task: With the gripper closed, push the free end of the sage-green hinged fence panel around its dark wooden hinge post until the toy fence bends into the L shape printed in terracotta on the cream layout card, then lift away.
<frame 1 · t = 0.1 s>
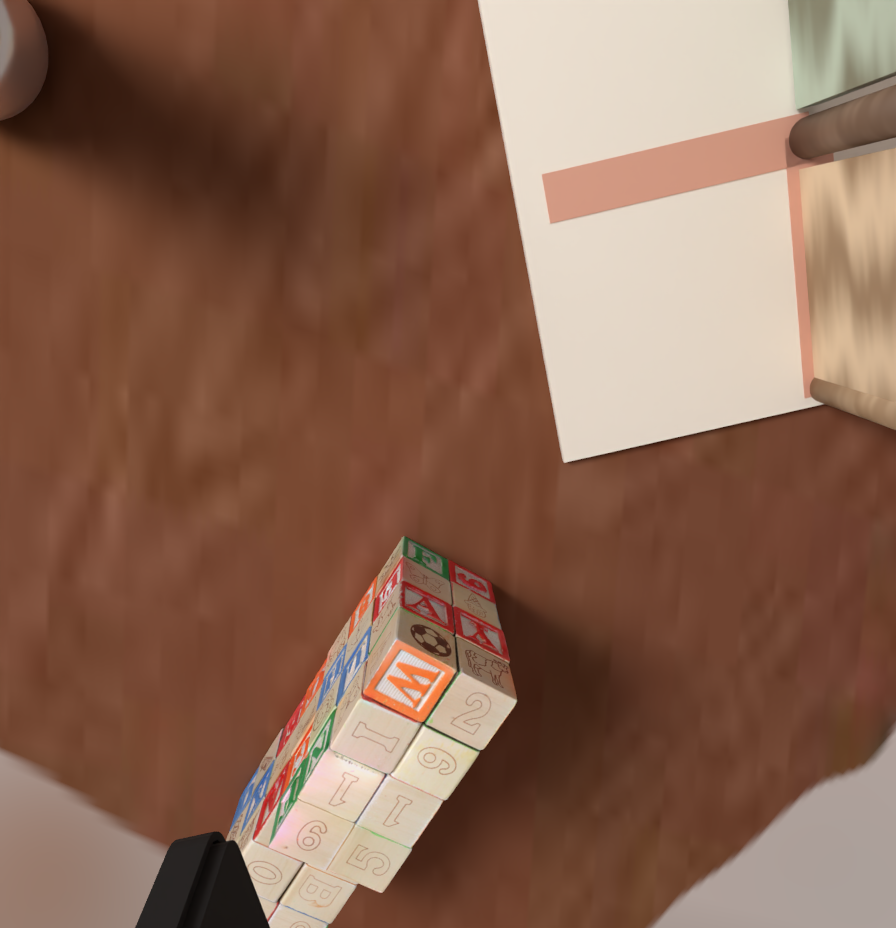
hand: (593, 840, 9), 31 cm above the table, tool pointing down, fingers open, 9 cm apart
layout card: (705, 151, 36), on the table
stack of blocks: (361, 689, 45), on the table
fixed fence: (802, 139, 36), resting on layout card
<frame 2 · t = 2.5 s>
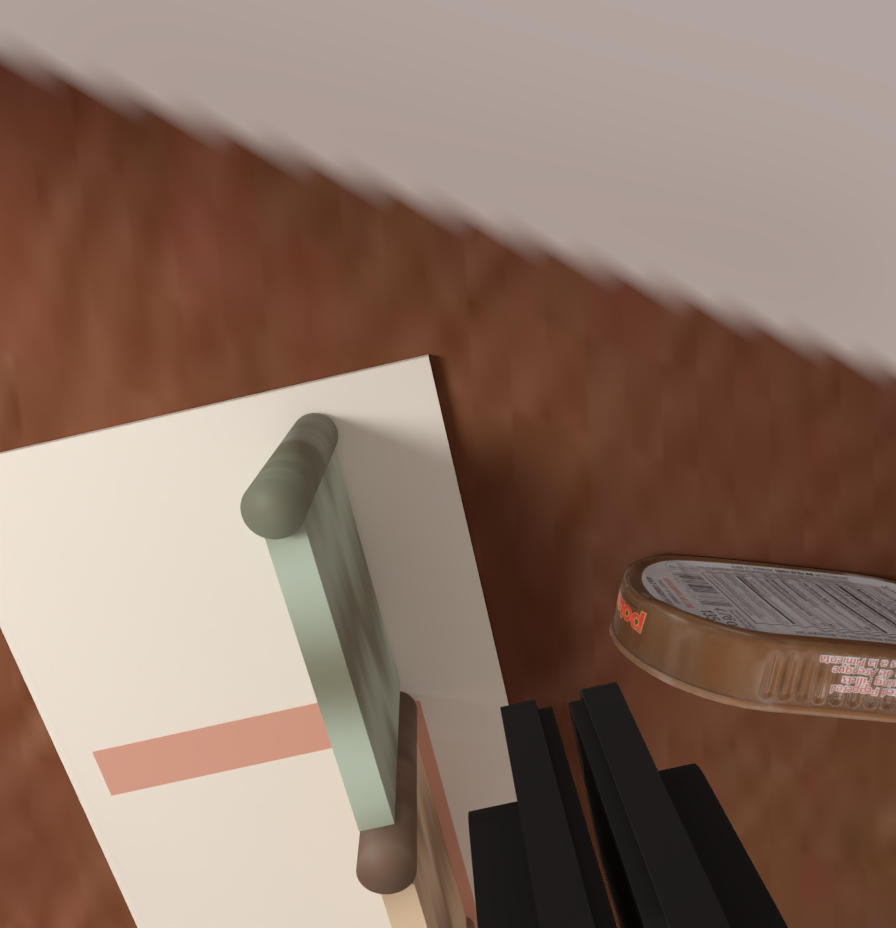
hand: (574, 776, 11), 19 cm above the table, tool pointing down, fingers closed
tin: (757, 580, 31), on the table
layout card: (284, 717, 32), on the table
fixed fence: (394, 703, 32), resting on layout card
swing panel: (339, 606, 25), point 5 cm above the table, hinge at 0.0°
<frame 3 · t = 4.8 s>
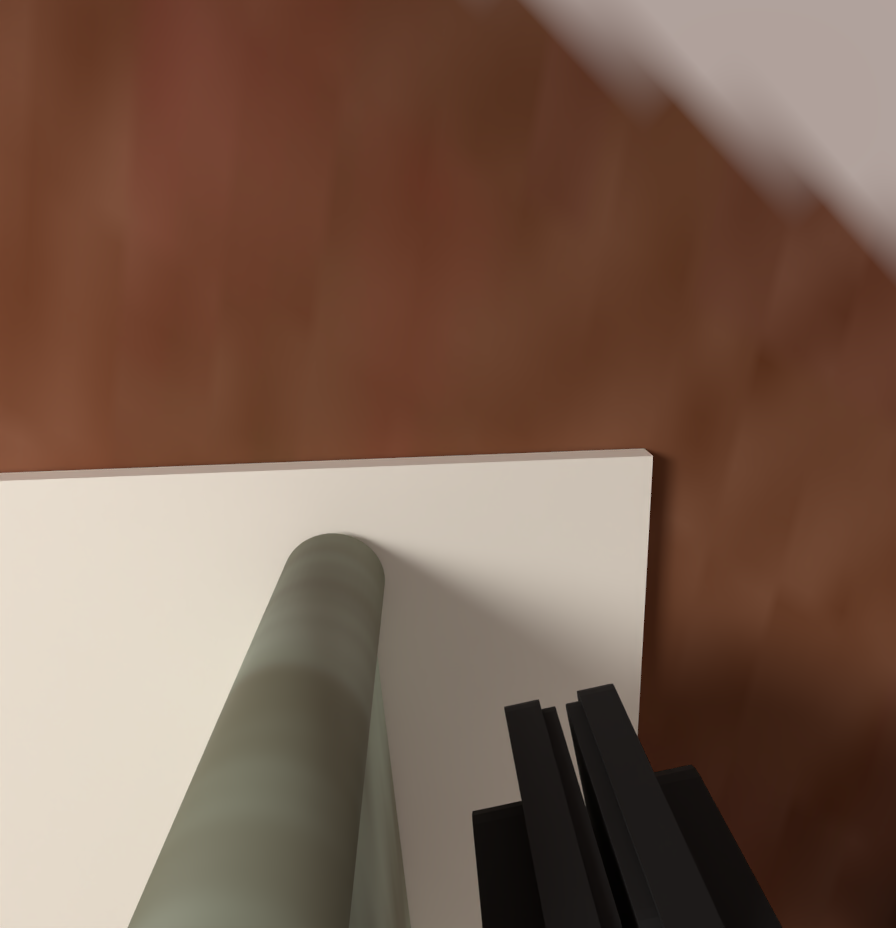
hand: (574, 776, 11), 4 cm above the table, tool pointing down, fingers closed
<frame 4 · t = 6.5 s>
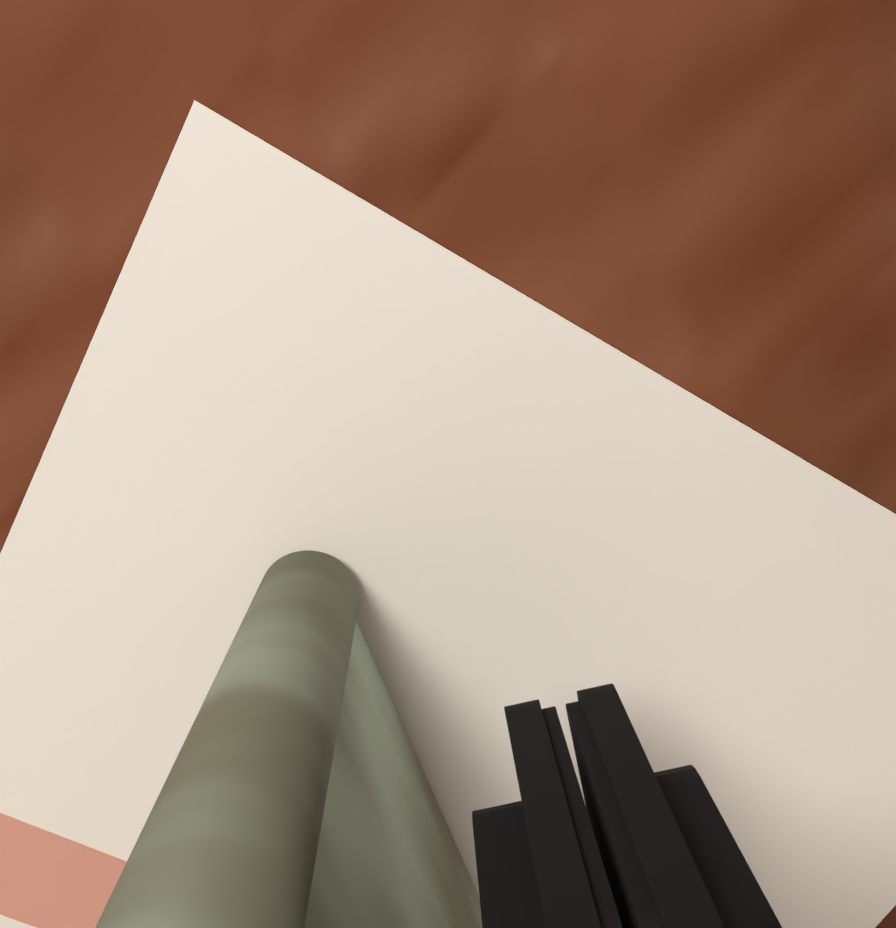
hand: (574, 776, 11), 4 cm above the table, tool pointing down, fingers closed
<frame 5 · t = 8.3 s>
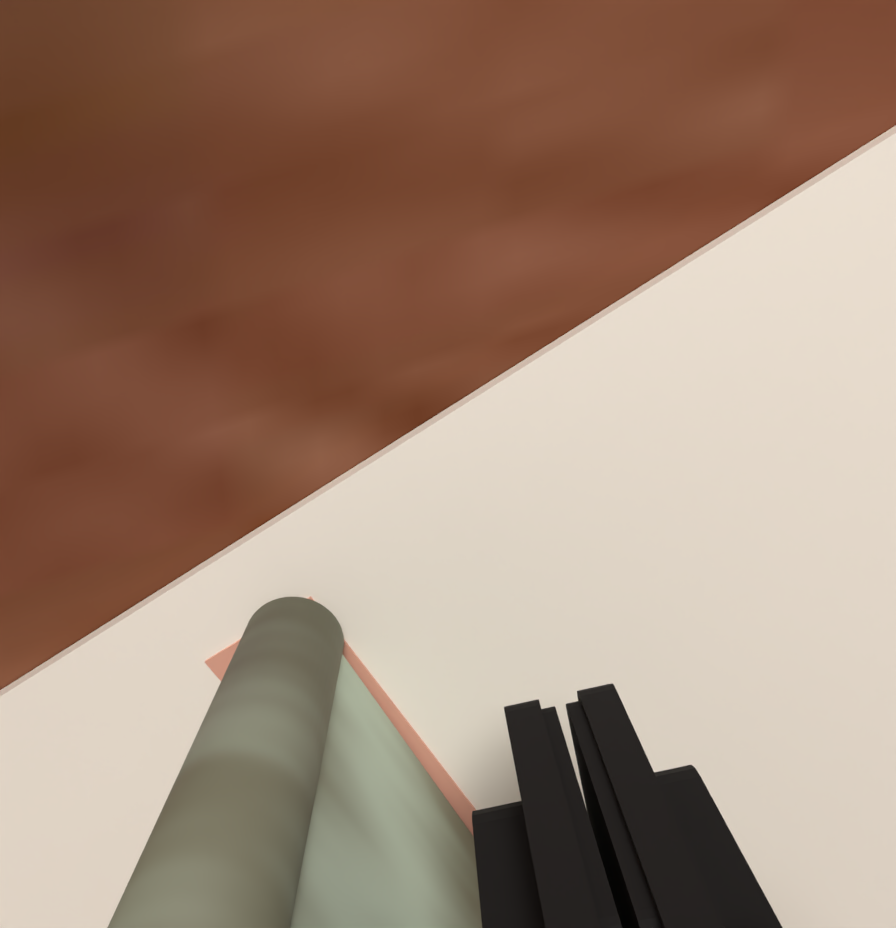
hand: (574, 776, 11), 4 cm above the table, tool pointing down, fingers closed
layout card: (512, 890, 16), on the table
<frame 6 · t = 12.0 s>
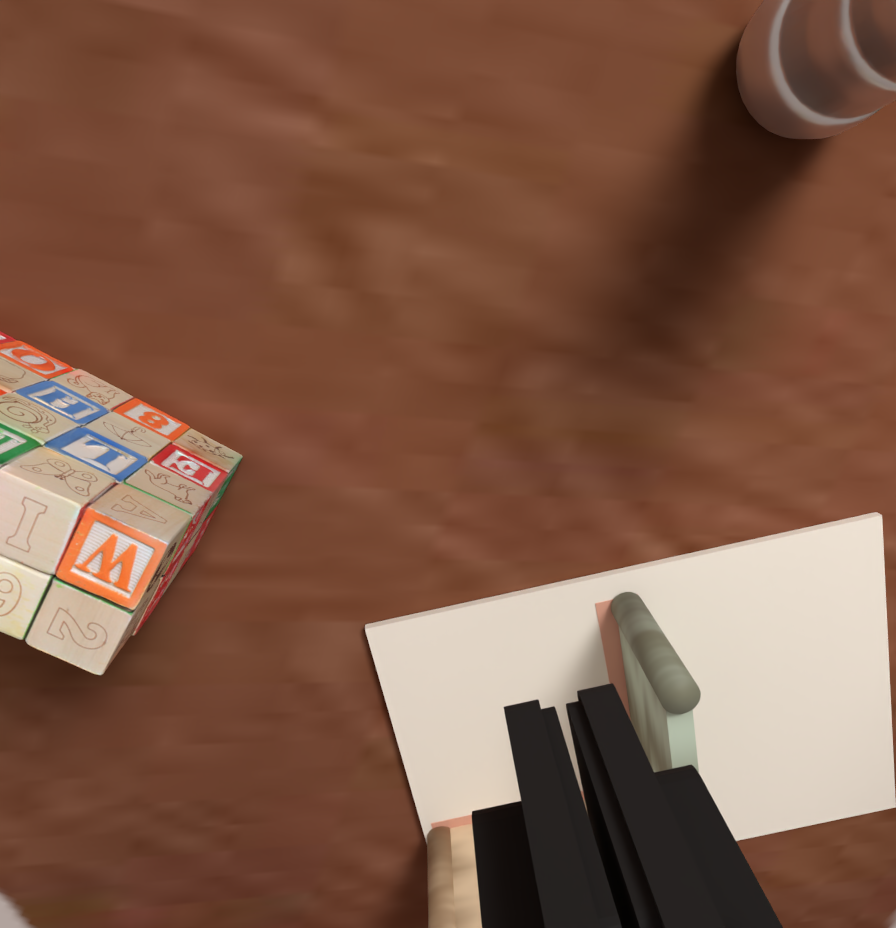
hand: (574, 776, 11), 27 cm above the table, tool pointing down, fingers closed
layout card: (643, 718, 42), on the table
stack of blocks: (29, 405, 36), on the table
fixed fence: (646, 787, 44), resting on layout card
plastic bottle: (787, 70, 33), on the table
swing panel: (660, 735, 37), point 5 cm above the table, hinge at 87.9°
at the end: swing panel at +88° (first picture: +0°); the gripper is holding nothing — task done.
